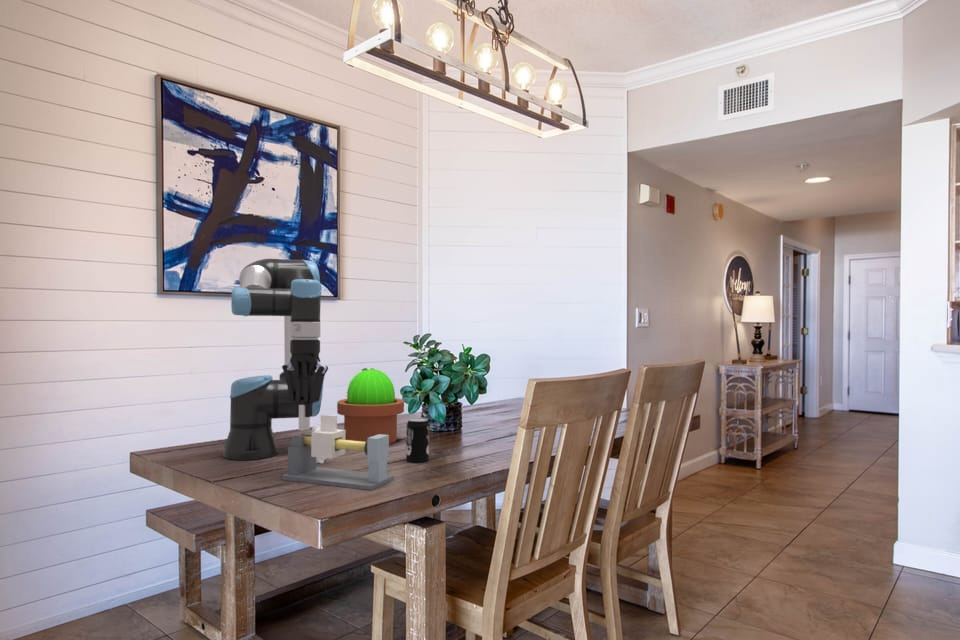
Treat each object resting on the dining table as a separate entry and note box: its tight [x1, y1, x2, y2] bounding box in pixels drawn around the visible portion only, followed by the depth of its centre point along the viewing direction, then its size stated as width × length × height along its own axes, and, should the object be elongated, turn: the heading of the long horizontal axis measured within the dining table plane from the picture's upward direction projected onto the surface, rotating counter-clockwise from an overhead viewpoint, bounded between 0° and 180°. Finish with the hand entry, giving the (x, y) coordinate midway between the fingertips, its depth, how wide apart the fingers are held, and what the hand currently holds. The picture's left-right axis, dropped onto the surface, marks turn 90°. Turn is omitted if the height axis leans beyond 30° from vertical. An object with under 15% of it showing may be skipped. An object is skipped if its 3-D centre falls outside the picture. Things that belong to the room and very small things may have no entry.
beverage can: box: [405, 417, 430, 464], centre depth 177 cm, size 7×7×12 cm
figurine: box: [311, 422, 326, 464], centre depth 175 cm, size 10×5×12 cm, turn 52°
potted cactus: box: [336, 367, 405, 445], centre depth 204 cm, size 22×22×25 cm
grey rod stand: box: [281, 432, 395, 491], centre depth 155 cm, size 26×11×12 cm, turn 69°
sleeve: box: [311, 414, 346, 460], centre depth 156 cm, size 6×6×10 cm
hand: (304, 429), depth 158 cm, fingers closed
